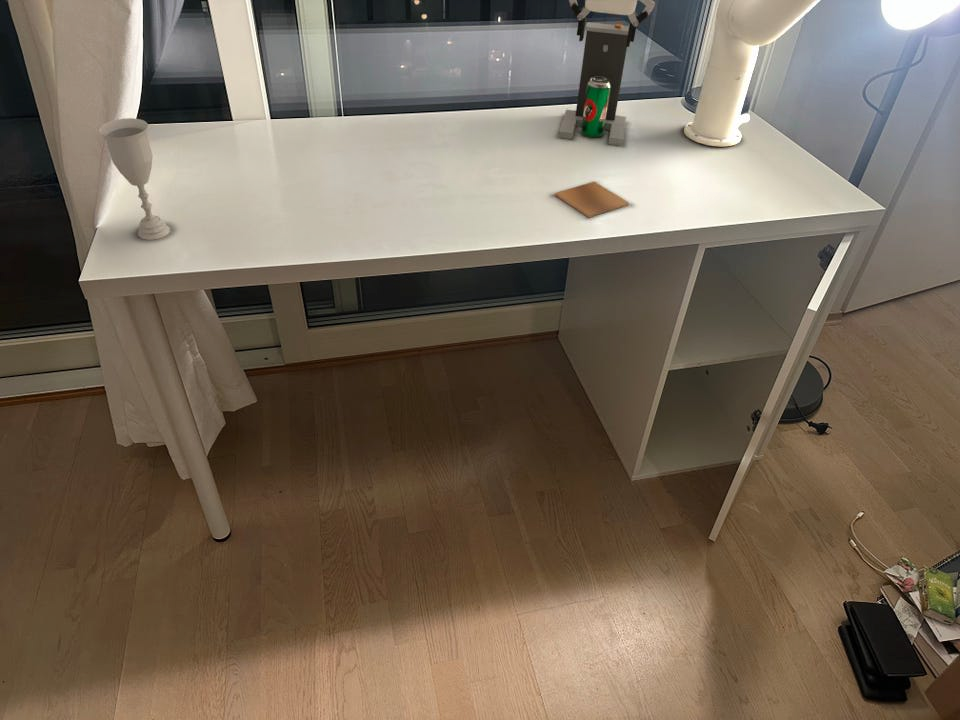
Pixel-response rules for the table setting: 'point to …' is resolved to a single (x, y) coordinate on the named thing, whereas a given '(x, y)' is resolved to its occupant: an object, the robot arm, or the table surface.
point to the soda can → (595, 106)
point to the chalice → (134, 166)
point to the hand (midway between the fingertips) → (604, 42)
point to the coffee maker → (605, 61)
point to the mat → (591, 199)
